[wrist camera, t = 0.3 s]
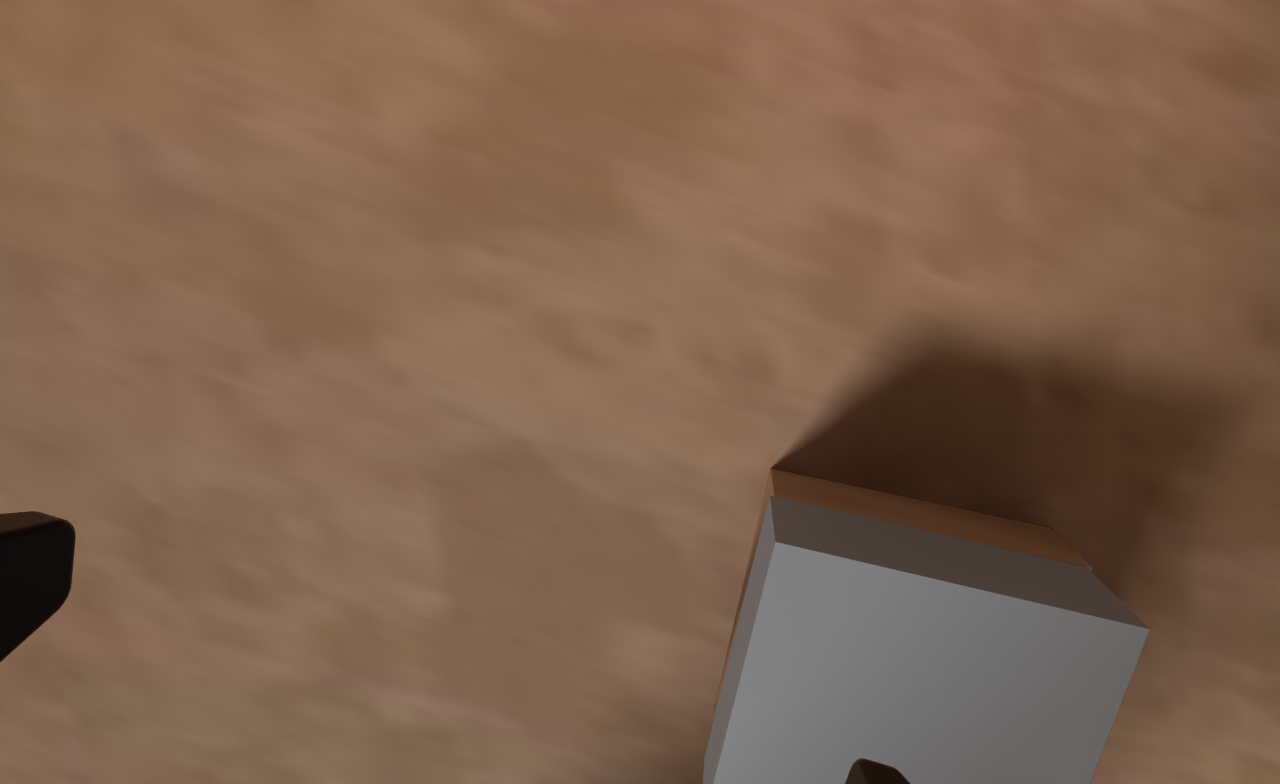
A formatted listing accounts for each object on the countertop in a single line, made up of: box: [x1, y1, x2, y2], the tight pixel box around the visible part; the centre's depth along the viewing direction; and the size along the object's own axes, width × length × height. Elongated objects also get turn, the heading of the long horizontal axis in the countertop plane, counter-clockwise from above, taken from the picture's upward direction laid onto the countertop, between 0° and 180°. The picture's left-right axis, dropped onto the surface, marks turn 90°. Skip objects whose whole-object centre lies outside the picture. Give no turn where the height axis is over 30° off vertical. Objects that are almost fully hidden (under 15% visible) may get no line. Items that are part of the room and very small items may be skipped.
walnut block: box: [714, 468, 1093, 717], centre depth 22 cm, size 8×8×3 cm
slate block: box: [702, 495, 1150, 784], centre depth 19 cm, size 8×8×3 cm
